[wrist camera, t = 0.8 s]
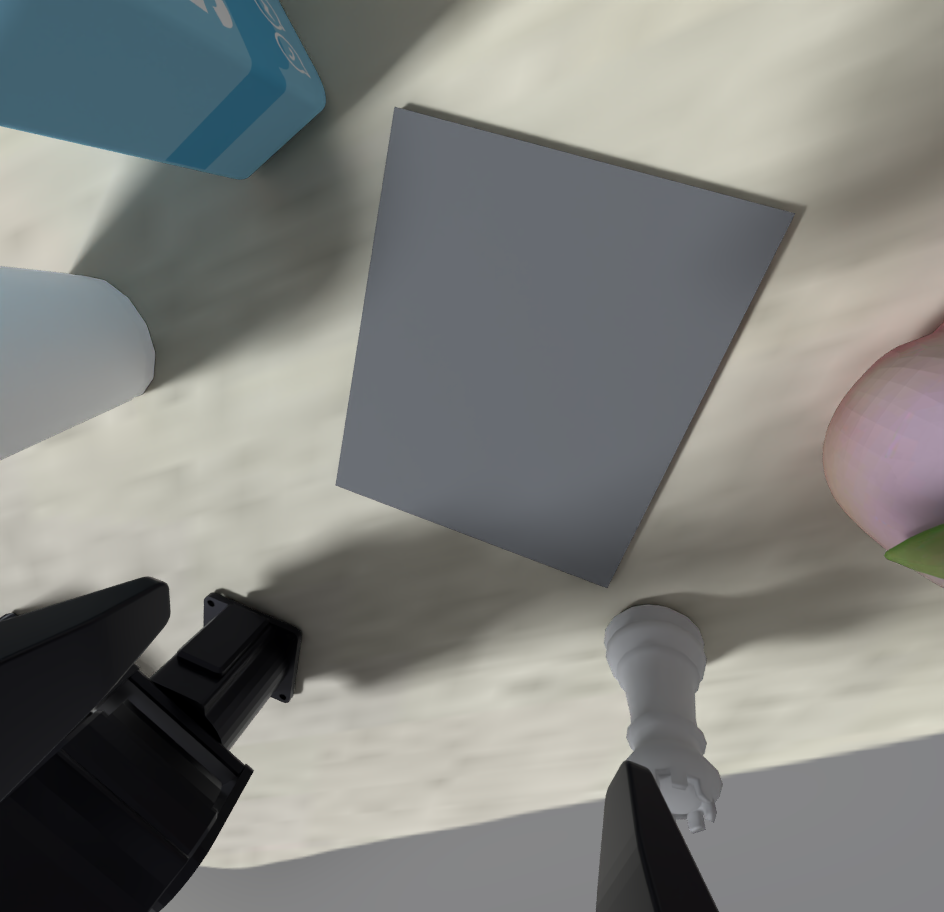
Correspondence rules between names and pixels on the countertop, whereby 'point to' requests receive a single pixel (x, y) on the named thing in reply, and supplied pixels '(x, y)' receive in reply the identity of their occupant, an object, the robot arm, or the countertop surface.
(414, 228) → the mat
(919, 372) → the decorative fruit
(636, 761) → the rook chess piece
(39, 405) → the foam cup
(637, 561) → the countertop surface
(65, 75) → the data package
